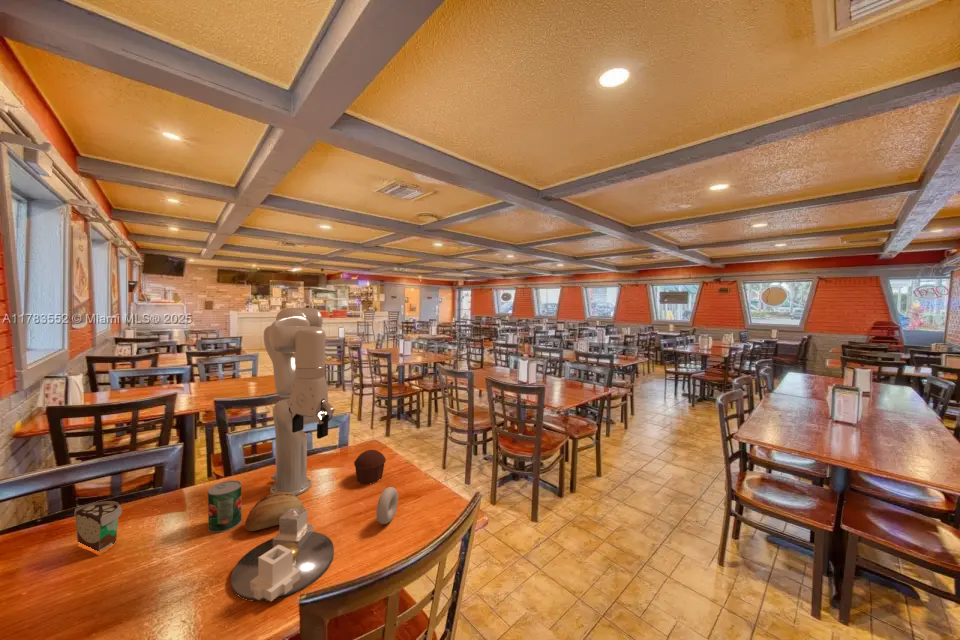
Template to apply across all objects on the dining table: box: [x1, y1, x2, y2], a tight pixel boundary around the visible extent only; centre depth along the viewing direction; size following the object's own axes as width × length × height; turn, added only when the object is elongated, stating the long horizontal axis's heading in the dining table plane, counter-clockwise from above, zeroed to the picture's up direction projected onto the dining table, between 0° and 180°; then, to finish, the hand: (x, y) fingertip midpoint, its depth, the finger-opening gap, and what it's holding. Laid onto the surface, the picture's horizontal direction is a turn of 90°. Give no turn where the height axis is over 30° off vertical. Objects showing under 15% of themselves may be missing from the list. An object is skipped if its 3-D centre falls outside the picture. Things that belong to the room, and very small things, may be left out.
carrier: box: [230, 508, 335, 602], centre depth 87 cm, size 22×22×9 cm
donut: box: [375, 486, 399, 525], centre depth 105 cm, size 10×4×10 cm, turn 168°
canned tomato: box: [207, 480, 243, 534], centre depth 102 cm, size 8×8×11 cm
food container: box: [73, 500, 123, 552], centre depth 93 cm, size 12×6×10 cm, turn 71°
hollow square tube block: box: [250, 545, 300, 602], centre depth 79 cm, size 9×9×7 cm
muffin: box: [353, 449, 387, 485], centre depth 131 cm, size 12×11×10 cm
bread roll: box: [244, 492, 305, 532], centre depth 103 cm, size 10×15×8 cm, turn 127°
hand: (309, 433), depth 98 cm, fingers open, 9 cm apart
